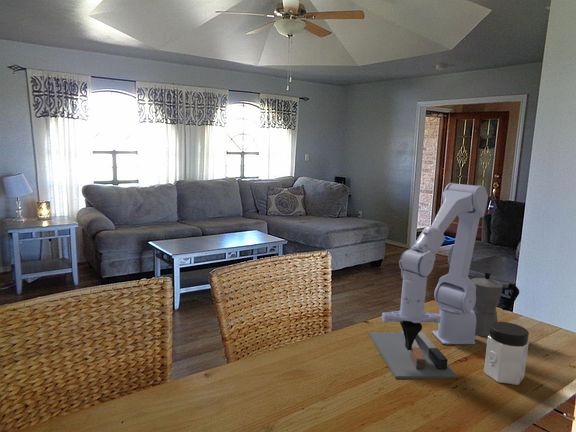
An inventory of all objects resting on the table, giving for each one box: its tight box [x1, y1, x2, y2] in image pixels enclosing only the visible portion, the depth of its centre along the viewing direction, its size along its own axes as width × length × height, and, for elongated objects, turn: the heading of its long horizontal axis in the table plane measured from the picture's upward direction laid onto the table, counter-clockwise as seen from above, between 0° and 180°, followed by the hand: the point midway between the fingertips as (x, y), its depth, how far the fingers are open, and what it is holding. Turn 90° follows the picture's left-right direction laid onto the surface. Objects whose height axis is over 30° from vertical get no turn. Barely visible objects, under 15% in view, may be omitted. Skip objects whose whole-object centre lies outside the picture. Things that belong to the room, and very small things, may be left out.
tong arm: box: [401, 328, 426, 369], centre depth 113 cm, size 20×4×3 cm, turn 176°
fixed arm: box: [415, 330, 448, 369], centre depth 111 cm, size 16×2×2 cm, turn 4°
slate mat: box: [368, 331, 458, 379], centre depth 113 cm, size 24×15×1 cm, turn 4°
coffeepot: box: [469, 272, 520, 338], centre depth 127 cm, size 15×9×18 cm, turn 70°
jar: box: [483, 321, 530, 386], centre depth 103 cm, size 9×8×12 cm
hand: (408, 348), depth 110 cm, fingers closed, pressing on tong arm
